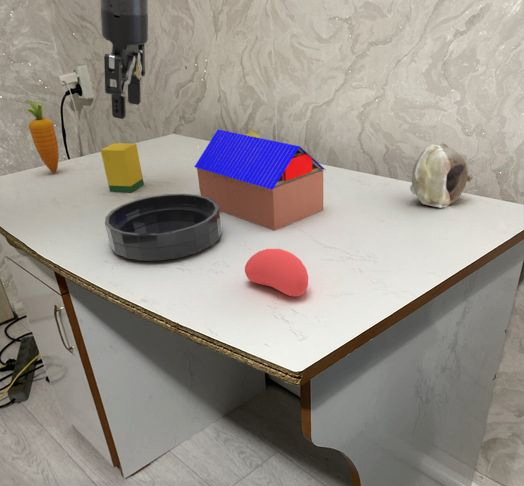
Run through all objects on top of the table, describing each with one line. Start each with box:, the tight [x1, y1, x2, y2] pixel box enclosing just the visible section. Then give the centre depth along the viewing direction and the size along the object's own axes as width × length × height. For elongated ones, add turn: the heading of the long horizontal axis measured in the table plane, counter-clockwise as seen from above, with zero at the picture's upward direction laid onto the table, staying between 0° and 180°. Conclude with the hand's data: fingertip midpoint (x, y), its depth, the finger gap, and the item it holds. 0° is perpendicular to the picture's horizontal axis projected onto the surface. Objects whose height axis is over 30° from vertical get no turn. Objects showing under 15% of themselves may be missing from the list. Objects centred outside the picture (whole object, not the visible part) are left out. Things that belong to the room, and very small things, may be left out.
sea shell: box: [410, 142, 474, 209], centre depth 88 cm, size 9×8×10 cm
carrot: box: [26, 99, 60, 173], centre depth 116 cm, size 5×5×15 cm
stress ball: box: [244, 248, 309, 297], centre depth 68 cm, size 5×9×6 cm, turn 36°
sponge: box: [100, 142, 145, 193], centre depth 105 cm, size 5×5×8 cm
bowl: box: [104, 193, 223, 262], centre depth 83 cm, size 17×17×4 cm
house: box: [194, 129, 326, 231], centre depth 91 cm, size 12×20×12 cm, turn 42°
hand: (126, 110), depth 98 cm, fingers open, 8 cm apart
